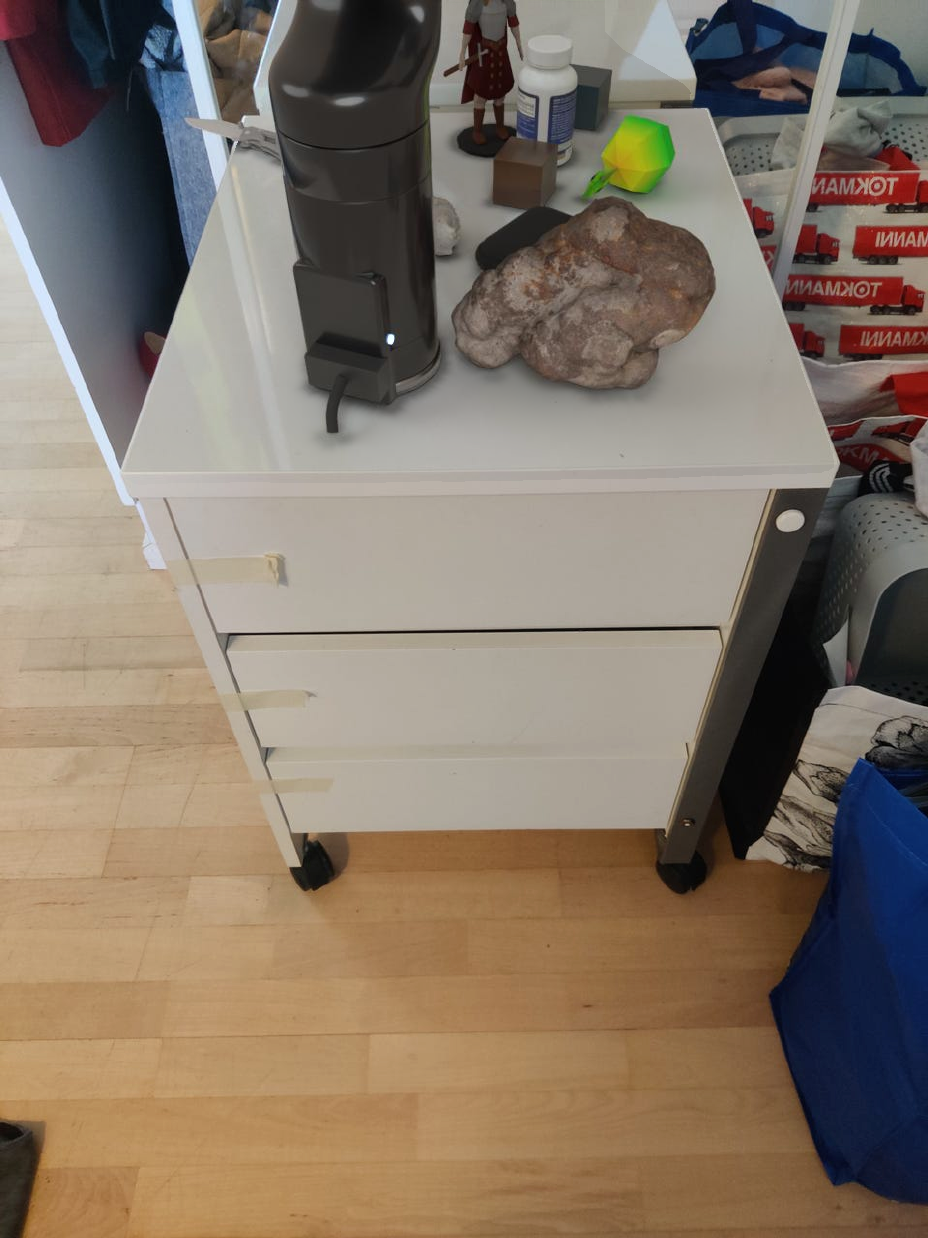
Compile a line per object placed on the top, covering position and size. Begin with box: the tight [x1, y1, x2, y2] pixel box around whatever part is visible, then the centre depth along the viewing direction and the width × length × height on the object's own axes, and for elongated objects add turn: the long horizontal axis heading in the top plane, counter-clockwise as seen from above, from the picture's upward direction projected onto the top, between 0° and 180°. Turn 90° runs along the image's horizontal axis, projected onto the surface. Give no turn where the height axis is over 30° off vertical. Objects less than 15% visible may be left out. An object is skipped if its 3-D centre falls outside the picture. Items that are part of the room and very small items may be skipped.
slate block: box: [569, 63, 613, 132], centre depth 90 cm, size 4×4×4 cm
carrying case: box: [474, 205, 574, 272], centre depth 71 cm, size 11×3×15 cm
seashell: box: [433, 195, 462, 256], centre depth 77 cm, size 4×16×4 cm, turn 37°
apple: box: [581, 114, 676, 201], centre depth 80 cm, size 7×6×9 cm
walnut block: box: [492, 136, 558, 211], centre depth 80 cm, size 4×4×4 cm
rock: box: [450, 195, 717, 391], centre depth 62 cm, size 18×12×10 cm
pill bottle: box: [515, 34, 578, 167], centre depth 82 cm, size 5×5×10 cm
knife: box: [183, 117, 280, 160], centre depth 87 cm, size 2×18×3 cm
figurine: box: [442, 0, 525, 158], centre depth 82 cm, size 7×7×15 cm
